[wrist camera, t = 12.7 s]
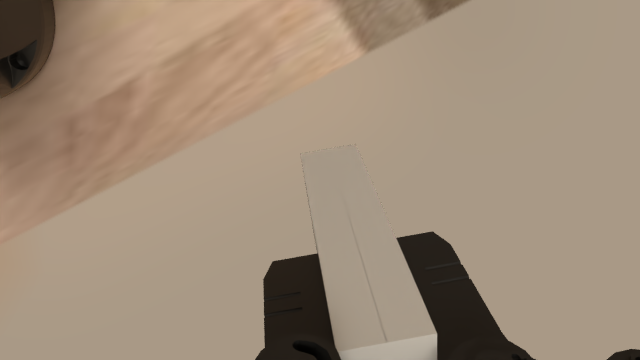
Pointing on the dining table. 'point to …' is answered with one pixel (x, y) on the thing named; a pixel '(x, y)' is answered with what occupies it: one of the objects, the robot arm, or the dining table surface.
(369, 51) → the dining table surface
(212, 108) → the dining table surface
